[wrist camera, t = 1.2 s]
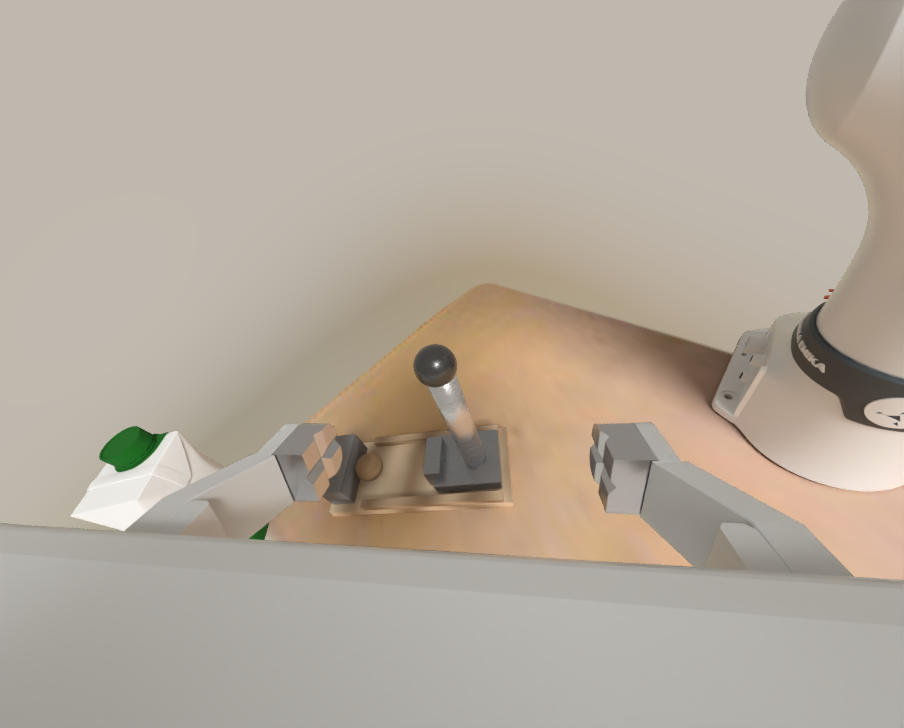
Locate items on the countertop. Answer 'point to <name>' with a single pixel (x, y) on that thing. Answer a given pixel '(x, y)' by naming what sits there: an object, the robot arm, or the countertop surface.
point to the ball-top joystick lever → (455, 431)
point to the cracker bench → (404, 478)
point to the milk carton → (143, 476)
